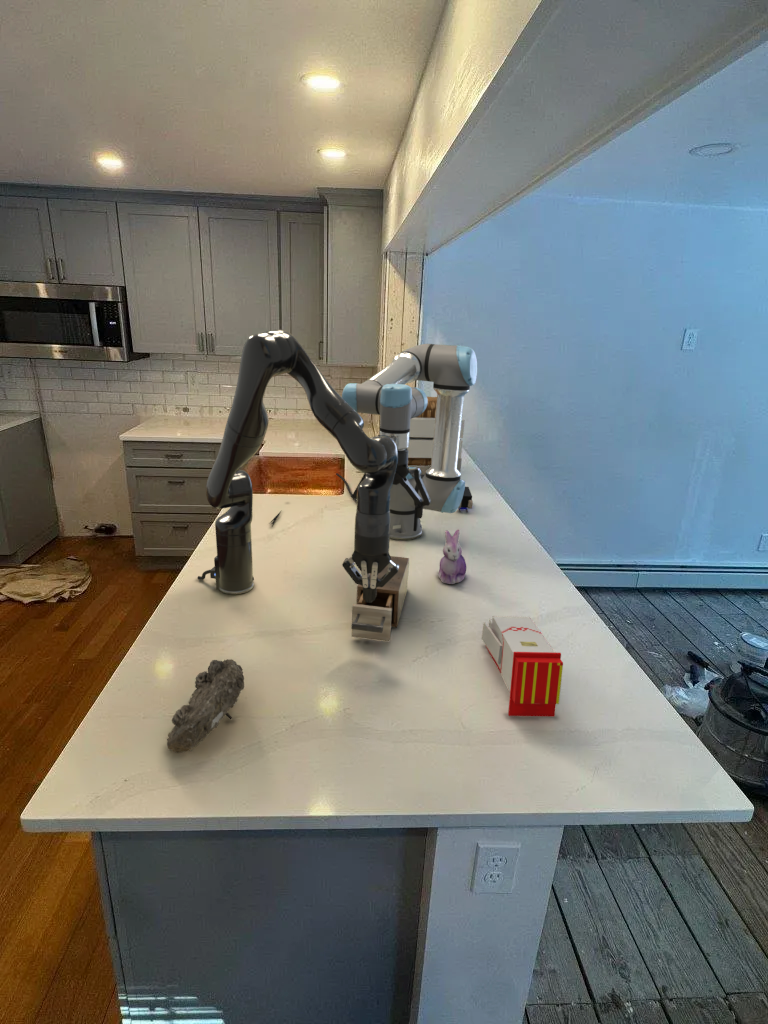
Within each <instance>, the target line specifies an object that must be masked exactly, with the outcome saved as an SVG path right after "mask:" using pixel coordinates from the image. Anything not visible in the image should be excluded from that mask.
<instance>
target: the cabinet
mask: <svg viewBox="0 0 768 1024" xmlns="http://www.w3.org/2000/svg"><path fill="white" fill-rule="evenodd" d="M390 556H391V561H392V562H393V563H395V564H399V570H398V572H397V573H396V574H395V575H394V576H393V577H392V578H391V579H390V580H389V581H388V582H387V583H386V584H385V585H384V586H383V587H377V592H381V593H389V594H395V600H394V615H393V618H392V621H391V628H396V629H397V628H398V625H399V621H400V618H401V614H402V610H403V608H404V604H405V600H406V596H407V592H408V581H409V566H410V564H409V563H410V557H405V556H404V557H403V556H394V555H390ZM387 569H388V565H387V566H386V567H385V568H384V569H383V570H382V572H380V573H379V575H378V579H381V578H382V577H383V576H384V575H385V574H386V573H387V572H388V571H387ZM370 584H371V573H370ZM362 593H363V586H362V585H360V584H357V587H356V604H358V602H359V600H360V598H361V595H362Z"/></svg>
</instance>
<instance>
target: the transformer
mask: <svg viewBox="0 0 768 1024" xmlns="http://www.w3.org/2000/svg"><path fill="white" fill-rule="evenodd" d="M427 399H428V404H427V407H426V409H425V411H424V412H423V413H421V414H420V415H419V416H417V417H414V418H412V419H410V435H409V447H408V448H407V449H408V467H431V460H432V449H433V437H434V426H435V414H436V403H437V396H427ZM464 429H465V419H464V418H462V421H461V431H460V441H459V450H458V460H457V470H458V471H459V472H460V473H461V472H462V461H463V460H462V453H463V442H464V441H463V440H462V439H463V438H464V431H465V430H464ZM461 474H462V473H461Z"/></svg>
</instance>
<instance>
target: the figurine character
mask: <svg viewBox="0 0 768 1024" xmlns="http://www.w3.org/2000/svg"><path fill="white" fill-rule="evenodd" d="M473 502H474V501H473V495H472V492H471V489H470V486H465V490H464V494H463V498H462V501H461V503H460V506H459V507H458V512H459V513H462V511H465V512H466V513H469V510H468V509H470V510H471V509H473V507H474V503H473Z"/></svg>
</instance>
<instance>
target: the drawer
mask: <svg viewBox="0 0 768 1024" xmlns="http://www.w3.org/2000/svg"><path fill="white" fill-rule="evenodd" d="M394 600H395V594H389V593H381V592H377V593H376V598H375V600H374V601H373V602H372V603H367V602H365V600H364V599H363V593H362V595H361V598H360V600H359V602H358V604H357V603H353V604H352V606H351V613H352V614H351V626H350V628H351V637H352V638H358V639H365V640H373V641H381V642H391V634H392V627H391V621H392V618H393V615H394Z"/></svg>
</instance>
